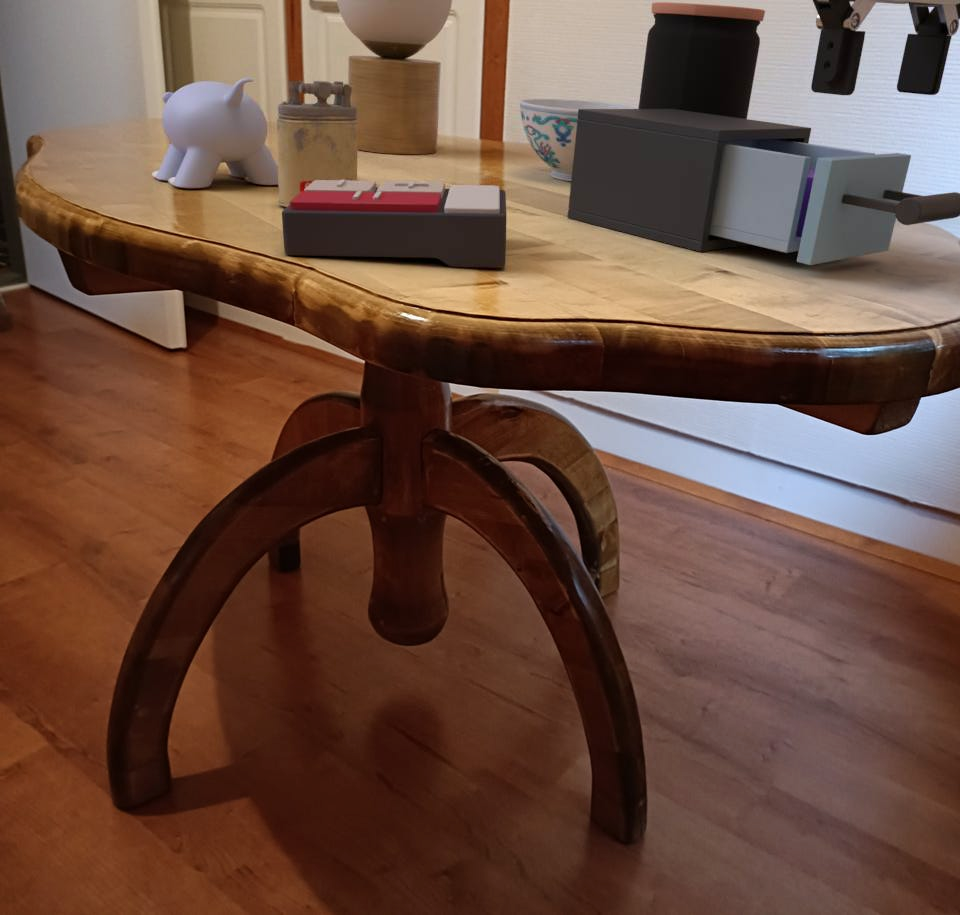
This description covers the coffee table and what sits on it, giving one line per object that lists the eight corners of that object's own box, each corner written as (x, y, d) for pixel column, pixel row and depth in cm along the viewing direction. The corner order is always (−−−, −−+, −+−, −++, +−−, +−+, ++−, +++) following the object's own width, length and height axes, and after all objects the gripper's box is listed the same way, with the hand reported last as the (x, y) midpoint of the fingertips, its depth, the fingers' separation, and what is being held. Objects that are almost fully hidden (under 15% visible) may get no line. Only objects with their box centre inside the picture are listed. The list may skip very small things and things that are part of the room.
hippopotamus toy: (233, 165, 99) (230, 66, 96) (302, 189, 89) (300, 79, 85) (129, 168, 93) (121, 63, 89) (189, 194, 83) (182, 76, 79)
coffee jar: (741, 200, 101) (774, 12, 94) (720, 213, 92) (755, 7, 85) (643, 187, 105) (667, 5, 97) (614, 199, 96) (638, 0, 88)
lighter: (288, 211, 79) (286, 81, 75) (269, 203, 82) (266, 77, 78) (364, 207, 83) (366, 83, 79) (344, 199, 86) (345, 79, 82)
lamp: (332, 136, 128) (332, -77, 118) (436, 141, 131) (446, -66, 121) (337, 151, 115) (339, -88, 104) (454, 156, 117) (466, -76, 107)
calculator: (309, 175, 73) (505, 178, 73) (312, 232, 75) (504, 235, 75) (279, 199, 63) (507, 203, 63) (283, 264, 65) (505, 268, 65)
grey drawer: (962, 267, 72) (990, 166, 69) (887, 284, 65) (915, 173, 62) (745, 219, 85) (760, 133, 82) (663, 229, 78) (677, 135, 75)
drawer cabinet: (789, 238, 83) (811, 127, 79) (700, 252, 75) (720, 130, 71) (658, 208, 92) (672, 108, 89) (567, 217, 85) (578, 108, 81)
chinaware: (519, 184, 101) (525, 106, 97) (510, 164, 114) (515, 95, 111) (660, 193, 101) (671, 116, 98) (634, 172, 115) (643, 104, 112)
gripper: (902, -223, 54) (841, 98, 61) (1062, -179, 63) (993, 97, 70) (796, -204, 60) (752, 89, 67) (957, -166, 69) (903, 89, 76)
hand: (875, 93), depth 69 cm, fingers open, 9 cm apart
